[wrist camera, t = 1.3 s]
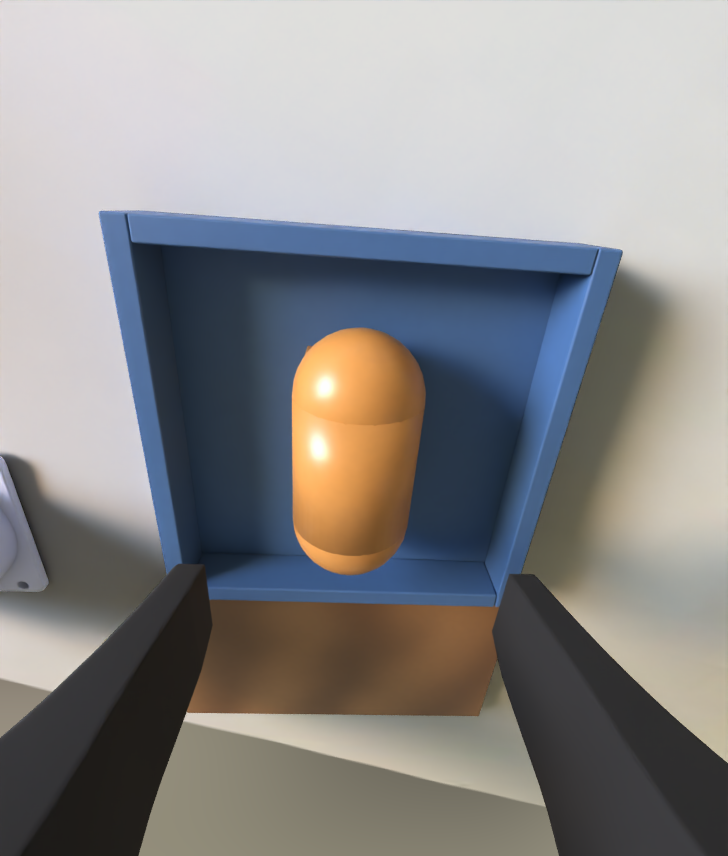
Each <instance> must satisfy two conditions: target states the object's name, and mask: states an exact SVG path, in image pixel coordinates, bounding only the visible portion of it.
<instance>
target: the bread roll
mask: <svg viewBox="0 0 728 856" xmlns="http://www.w3.org/2000/svg"><path fill="white" fill-rule="evenodd" d="M425 398H426V390H425V384H424V378H423V374H422V371H421V369H420V367H419V364H418V362H417V361H416V359H415V358H414V356H413V355H412V354H411V352H410V351H409V350H408V349H407V348H406V347H405V346H404V345H403V344H402V343H401V342H400V341H398V340H397V339H395V338H394V337H392V336H390V335H388V334H387V333H384V332H382V331H378V330H374V329H370V328H348V329H342V330H339V331H337V332H334V333H332V334H329V335H327V336H326V337H324V338H323V339H321V340H320V341H318V342H317V343H316V344H314V345H313V346H308V347H307V350H306V353H305V356H304V357H303V359H302V361H301V363H300V364H299V366H298V368H297V371H296V374H295V377H294V381H293V391H292V474H293V524H294V530H295V534H296V537H297V539H298V542H299V544H300V546H301V547H302V549H303V551H304V552H305V553H306V554H307V556H308V557H309V558H310V559H311V560H312V561H313V562H314V563H316V564H317V565H319V566H320V567H322V568H324V569H326V570H328V571H330V572H333V573H336V574H340V575H359V574H364V573H367V572H370V571H372V570H375V569H377V568H379V567H380V566H382V565H384V564H385V563H386V562H387V561H388V560H389V559H390V558H391V557H392V556H393V555H394V554H395V553H396V551H397V550H398V548H399V547H400V545H401V543H402V542H403V540H404V536H405V533H406V529H407V526H408V519H409V512H410V505H411V498H412V491H413V485H414V478H415V471H416V464H417V457H418V450H419V443H420V436H421V429H422V423H423V416H424V409H425Z"/></svg>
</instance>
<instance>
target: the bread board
mask: <svg viewBox="0 0 728 856" xmlns="http://www.w3.org/2000/svg"><path fill="white" fill-rule="evenodd" d="M209 601H210V608H211V616H212V623H213V626H212V630H211V634H210V639H209V643H208V647H207V651H206V655H205V659H204V662H203V666H202V670H201V673H200V676H199V679H198V682H197V684H196V687H195V690H194V693H193V696H192V698H191V701H190V704H189V707H188V709H187V712H188V713H255V714H343V715H431V716H479V714H480V711H481V707H482V704H483V701H484V698H485V695H486V692H487V689H488V686H489V683H490V680H491V677H492V673H493V670H494V667H495V664H496V661H497V653H496V649H495V644H494V639H493V635H492V629H493V626H494V623H495V619H496V616H497V613H498V610H499V607H495V606H493V607H479V606H440V605H401V604H363V603H324V602H285V601H246V600H209Z"/></svg>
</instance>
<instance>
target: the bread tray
mask: <svg viewBox="0 0 728 856" xmlns="http://www.w3.org/2000/svg"><path fill="white" fill-rule="evenodd" d="M99 218H100V223H101V228H102V234H103V239H104V244H105V250H106V255H107V260H108V265H109V271H110V276H111V281H112V287H113V292H114V297H115V303H116V308H117V313H118V318H119V324H120V329H121V334H122V340H123V345H124V350H125V356H126V361H127V366H128V371H129V377H130V382H131V387H132V393H133V398H134V403H135V408H136V414H137V419H138V424H139V430H140V435H141V440H142V446H143V451H144V456H145V461H146V467H147V472H148V477H149V483H150V488H151V493H152V499H153V504H154V509H155V514H156V520H157V525H158V530H159V536H160V541H161V546H162V551H163V557H164V562H165V567H166V573H167V574H168V573H169V572H170V571H171V570H172V568H173V567H174V566H176V565H177V564H205V571H206V578H207V586H208V593H209V600H246V601H285V602H324V603H363V604H401V605H440V606H479V607H493V606H495V607H499V606H500V603H501V600H502V596H503V593H504V590H505V586H506V583H507V580H508V576H509V574H521V572H522V569H523V566H524V562H525V559H526V556H527V553H528V550H529V547H530V543H531V540H532V537H533V534H534V531H535V528H536V525H537V521H538V518H539V515H540V512H541V509H542V506H543V503H544V499H545V496H546V493H547V490H548V487H549V484H550V480H551V477H552V474H553V471H554V468H555V465H556V462H557V458H558V455H559V452H560V449H561V446H562V443H563V440H564V436H565V433H566V430H567V427H568V424H569V421H570V417H571V414H572V411H573V408H574V405H575V402H576V399H577V395H578V392H579V389H580V386H581V383H582V380H583V377H584V373H585V370H586V367H587V364H588V361H589V358H590V354H591V351H592V348H593V345H594V342H595V339H596V336H597V332H598V329H599V326H600V323H601V320H602V317H603V314H604V310H605V307H606V304H607V301H608V298H609V295H610V291H611V288H612V285H613V282H614V279H615V276H616V273H617V269H618V266H619V263H620V260H621V257H622V254H623V251H622V250H620V249H613V248H606V247H600V246H593V245H587V244H579V243H566V242H552V241H539V240H526V239H512V238H499V237H486V236H472V235H459V234H446V233H432V232H419V231H406V230H392V229H379V228H366V227H352V226H339V225H325V224H312V223H299V222H285V221H272V220H259V219H245V218H232V217H219V216H205V215H192V214H179V213H165V212H152V211H100V212H99ZM348 328H370V329H374V330H378V331H382V332H384V333H387V334H388V335H390V336H392V337H394V338H395V339H397V340H398V341H400V342H401V343H402V344H403V345H404V346H405V347H406V348H407V349H408V350H409V351H410V352H411V354H412V355H413V356H414V358H415V359H416V361H417V362H418V364H419V367H420V369H421V371H422V374H423V378H424V384H425V390H426V398H425V409H424V416H423V423H422V429H421V436H420V443H419V450H418V457H417V464H416V471H415V478H414V485H413V491H412V498H411V505H410V512H409V519H408V526H407V529H406V533H405V536H404V540H403V542H402V543H401V545H400V547H399V548H398V550H397V551H396V553H395V554H394V555H393V556H392V557H391V558H390V559H389V560H388V561H387V562H386V563H385V564H384V565H382V566H380V567H379V568H377V569H375V570H372V571H370V572H367V573H364V574H359V575H340V574H336V573H333V572H330V571H328V570H326V569H324V568H322V567H320V566H319V565H317V564H316V563H314V562H313V561H312V560H311V559H310V558H309V557H308V556H307V554H306V553H305V552H304V551H303V549H302V547H301V546H300V544H299V542H298V539H297V537H296V534H295V530H294V524H293V474H292V391H293V381H294V377H295V374H296V371H297V368H298V366H299V364H300V363H301V361H302V359H303V357H304V356H305V353H306V350H307V347H308V346H313V345H314V344H316V343H317V342H318V341H320V340H321V339H323V338H324V337H326V336H327V335H329V334H332V333H334V332H337V331H339V330H342V329H348Z"/></svg>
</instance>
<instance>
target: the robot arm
mask: <svg viewBox="0 0 728 856" xmlns="http://www.w3.org/2000/svg"><path fill="white" fill-rule="evenodd" d="M48 583H49V582H48V578H47V575H46V572H45V570H44V567H43V564H42V561H41V559H40V556H39V553H38V550H37V548H36V545H35V542H34V539H33V536H32V534H31V531H30V528H29V525H28V523H27V520H26V517H25V514H24V512H23V509H22V506H21V503H20V500H19V498H18V495H17V492H16V489H15V487H14V484H13V481H12V478H11V476H10V473H9V470H8V467H7V464H6V462H5V461H4V459H3V458H2V457H1V456H0V591H17V592H41V591H43V590H44V589H45V588H46V586H47V585H48ZM212 626H213V623H212V616H211V608H210V601H209V593H208V586H207V578H206V571H205V564H177V565H176V566H174V567H173V568H172V570H171V571H170V572H169V573H168V574H167V575H166V576H165V577H164V578H163V580H162V581H161V582H160V583H159V584H158V585H157V586H156V587H155V588H154V590H153V591H152V592H151V593H150V594H149V595H148V596H147V597H146V598H145V599H144V601H143V602H142V603H141V604H140V605H139V606H138V607H137V608H136V609H135V610H134V611H133V612H132V614H131V615H130V616H129V617H128V618H127V619H126V620H125V621H124V622H123V623H122V624H121V625H120V626H119V627H118V628H117V629H116V630H115V631H114V632H113V633H112V634H111V635H110V636H109V637H108V638H107V639H106V641H105V642H104V643H103V644H102V645H101V646H100V647H99V648H98V649H97V650H96V651H95V652H94V653H93V654H92V655H91V656H90V657H89V658H87V659H86V660H85V661H84V662H83V663H82V664H81V665H80V666H79V667H78V668H77V669H76V670H75V671H74V672H73V673H72V674H71V675H70V676H69V677H68V678H67V679H66V680H65V681H63V682H62V683H61V684H60V685H59V686H58V687H57V688H56V689H55V690H54V691H53V692H52V693H51V694H50V695H49V696H47V697H46V698H45V699H44V700H43V701H42V702H41V703H40V704H39V705H37V706H36V707H35V708H34V709H33V710H32V711H31V712H30V713H29V714H27V715H26V716H25V717H24V718H23V719H22V720H20V721H19V722H18V723H17V724H16V725H15V726H13V727H12V728H11V729H10V730H9V731H8V732H7V733H6V734H4V735H3V736H2V737H1V738H0V856H138V855H139V852H140V848H141V844H142V841H143V837H144V833H145V830H146V827H147V823H148V820H149V816H150V813H151V810H152V807H153V804H154V801H155V797H156V795H157V791H158V788H159V785H160V783H161V780H162V777H163V774H164V772H165V769H166V766H167V764H168V761H169V758H170V755H171V753H172V750H173V747H174V744H175V742H176V739H177V736H178V734H179V731H180V728H181V725H182V723H183V720H184V717H185V715H186V712H187V709H188V707H189V704H190V701H191V698H192V696H193V693H194V690H195V687H196V684H197V682H198V679H199V676H200V673H201V670H202V666H203V662H204V659H205V655H206V651H207V647H208V643H209V639H210V634H211V630H212ZM492 635H493V639H494V644H495V649H496V653H497V658H498V662H499V666H500V670H501V675H502V678H503V681H504V684H505V687H506V690H507V693H508V696H509V699H510V702H511V705H512V708H513V711H514V714H515V717H516V719H517V722H518V725H519V728H520V731H521V734H522V737H523V740H524V742H525V745H526V748H527V751H528V754H529V757H530V760H531V763H532V765H533V768H534V771H535V774H536V777H537V780H538V783H539V786H540V789H541V792H542V795H543V798H544V802H545V805H546V808H547V811H548V815H549V819H550V822H551V826H552V830H553V834H554V838H555V842H556V846H557V849H558V853H559V856H728V763H727V762H726V761H724V760H723V759H722V758H721V757H720V756H718V755H717V754H716V753H715V752H714V751H712V750H711V749H710V748H709V747H708V746H707V745H706V744H704V743H703V742H702V741H701V740H700V739H699V738H697V737H696V736H695V735H694V734H693V733H692V732H690V731H689V730H688V729H687V728H686V727H685V726H683V725H682V724H681V723H680V722H679V721H678V720H677V719H676V718H674V717H673V716H672V715H671V714H670V713H669V712H668V711H667V710H666V709H665V708H663V707H662V706H661V705H660V704H659V703H658V702H657V701H656V700H655V699H654V698H653V697H652V696H651V695H650V694H649V693H648V692H647V691H645V690H644V689H643V688H642V687H641V686H640V685H639V684H638V683H637V682H636V681H635V680H634V679H633V678H632V677H631V676H630V675H629V674H628V673H627V672H626V671H625V670H624V669H623V668H622V667H621V666H620V665H619V664H618V663H617V662H616V661H615V660H614V659H613V658H612V657H611V656H610V655H609V654H608V653H607V652H606V651H605V650H604V649H603V648H602V647H601V646H600V645H599V644H598V643H597V642H596V641H595V640H594V639H593V638H592V637H591V635H590V634H589V633H588V632H587V631H586V630H585V629H584V628H583V627H582V626H581V625H580V624H579V623H578V622H577V621H576V619H575V618H574V617H573V616H572V615H571V614H570V613H569V612H568V611H567V610H566V609H565V608H564V606H563V605H562V604H561V603H560V602H559V601H558V600H557V599H556V598H555V597H554V596H553V594H552V593H551V592H550V591H549V590H548V589H547V588H546V587H545V586H544V585H543V584H542V582H541V581H540V580H539V579H538V578H537V577H536V576H535V575H531V574H509V576H508V580H507V583H506V586H505V590H504V593H503V596H502V600H501V603H500V606H499V610H498V613H497V616H496V619H495V623H494V626H493V629H492Z"/></svg>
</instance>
